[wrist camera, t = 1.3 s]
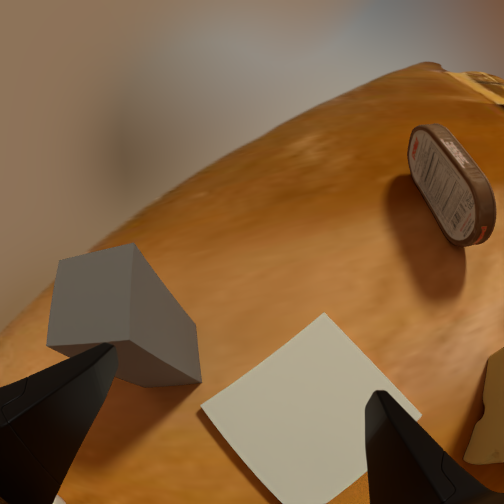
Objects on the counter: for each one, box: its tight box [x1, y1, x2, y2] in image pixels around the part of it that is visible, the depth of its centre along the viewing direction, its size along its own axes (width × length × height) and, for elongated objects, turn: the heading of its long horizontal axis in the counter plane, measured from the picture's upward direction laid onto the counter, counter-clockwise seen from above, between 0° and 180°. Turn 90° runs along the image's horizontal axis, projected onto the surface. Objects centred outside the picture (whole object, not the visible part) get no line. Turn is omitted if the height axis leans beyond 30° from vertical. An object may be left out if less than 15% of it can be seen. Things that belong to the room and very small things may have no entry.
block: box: [46, 243, 202, 387], centre depth 17 cm, size 5×5×12 cm
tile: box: [200, 312, 422, 504], centre depth 18 cm, size 12×12×1 cm
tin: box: [407, 124, 496, 247], centre depth 25 cm, size 15×3×8 cm, turn 7°
